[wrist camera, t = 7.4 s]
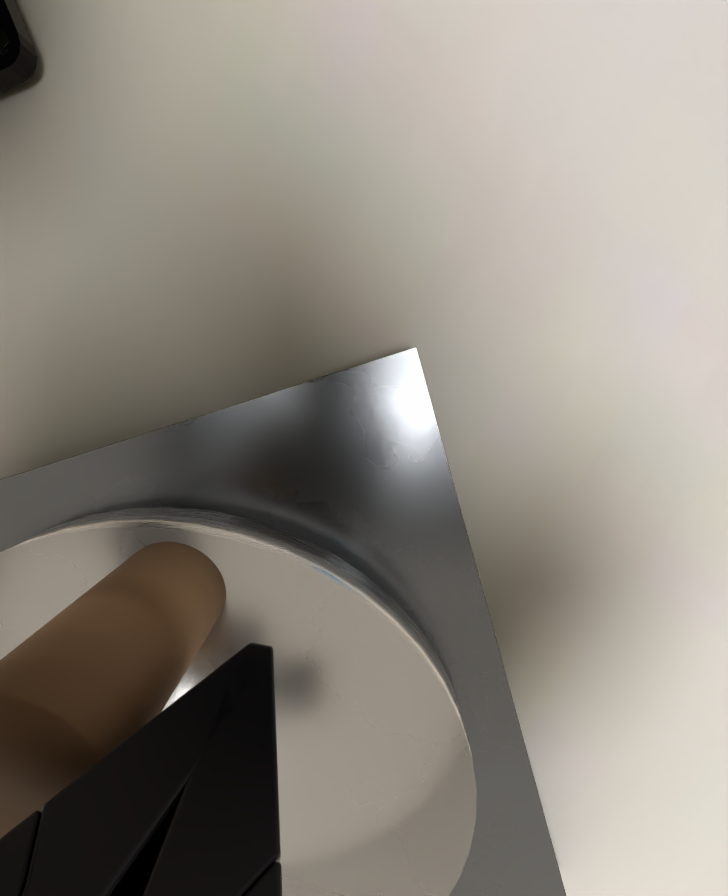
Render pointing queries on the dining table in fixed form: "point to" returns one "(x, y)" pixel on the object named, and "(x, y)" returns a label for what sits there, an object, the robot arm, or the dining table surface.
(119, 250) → the dining table surface
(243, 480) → the base
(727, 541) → the dining table surface
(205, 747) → the robot arm
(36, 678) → the metal crank wheel
